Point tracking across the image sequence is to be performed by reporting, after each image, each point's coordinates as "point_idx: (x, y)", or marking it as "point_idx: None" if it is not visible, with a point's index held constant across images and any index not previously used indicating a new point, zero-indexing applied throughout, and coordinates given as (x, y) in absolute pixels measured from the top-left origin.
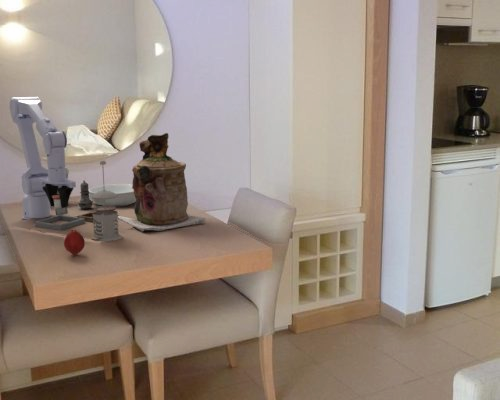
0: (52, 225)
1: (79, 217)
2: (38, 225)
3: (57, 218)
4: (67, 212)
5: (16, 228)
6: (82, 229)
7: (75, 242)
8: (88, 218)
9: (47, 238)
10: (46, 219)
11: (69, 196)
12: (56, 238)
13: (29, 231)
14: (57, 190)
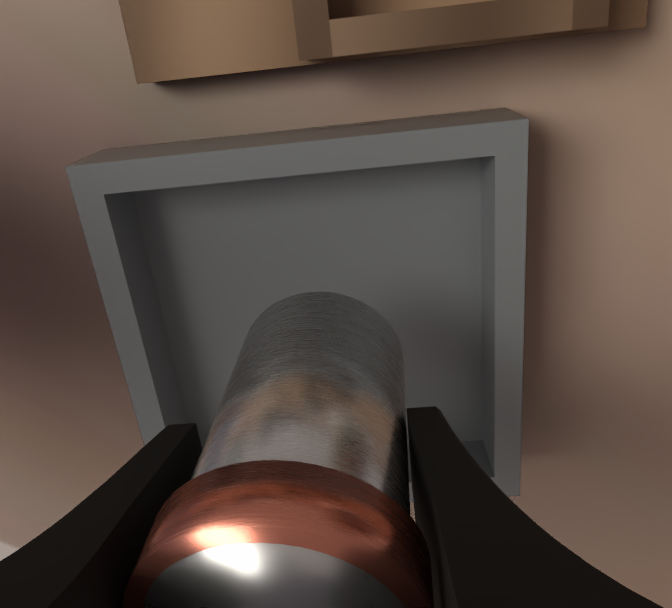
0: (411, 494)
1: (345, 55)
2: None
3: (125, 233)
4: (394, 338)
5: (44, 528)
6: (601, 248)
7: None
8: (524, 35)
9: None
10: (158, 400)
11: (523, 519)
12: (598, 552)
13: None
14: (63, 589)
